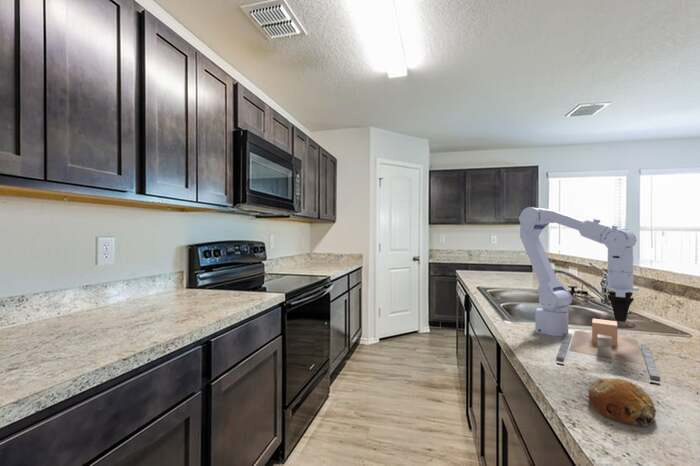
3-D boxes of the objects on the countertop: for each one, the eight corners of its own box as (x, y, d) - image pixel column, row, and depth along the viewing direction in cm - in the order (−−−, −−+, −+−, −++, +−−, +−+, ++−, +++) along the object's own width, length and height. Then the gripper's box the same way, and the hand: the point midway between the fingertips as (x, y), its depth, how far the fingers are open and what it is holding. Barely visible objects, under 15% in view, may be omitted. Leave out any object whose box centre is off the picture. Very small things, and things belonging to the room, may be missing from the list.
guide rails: (556, 364, 87) (556, 356, 87) (565, 339, 108) (565, 332, 108) (660, 385, 75) (660, 376, 75) (648, 352, 95) (648, 345, 95)
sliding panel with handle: (568, 354, 94) (568, 333, 94) (575, 333, 113) (575, 315, 113) (644, 368, 84) (644, 344, 84) (637, 343, 103) (637, 323, 103)
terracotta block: (592, 342, 101) (592, 322, 101) (592, 337, 106) (592, 318, 106) (617, 346, 97) (617, 325, 97) (616, 340, 102) (616, 321, 102)
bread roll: (644, 426, 65) (636, 382, 69) (672, 431, 57) (661, 380, 60) (585, 417, 69) (580, 376, 72) (603, 420, 60) (596, 373, 63)
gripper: (640, 274, 87) (640, 326, 87) (637, 269, 98) (637, 315, 98) (606, 273, 91) (606, 322, 91) (607, 268, 103) (607, 312, 103)
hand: (620, 318), depth 95 cm, fingers open, 7 cm apart
